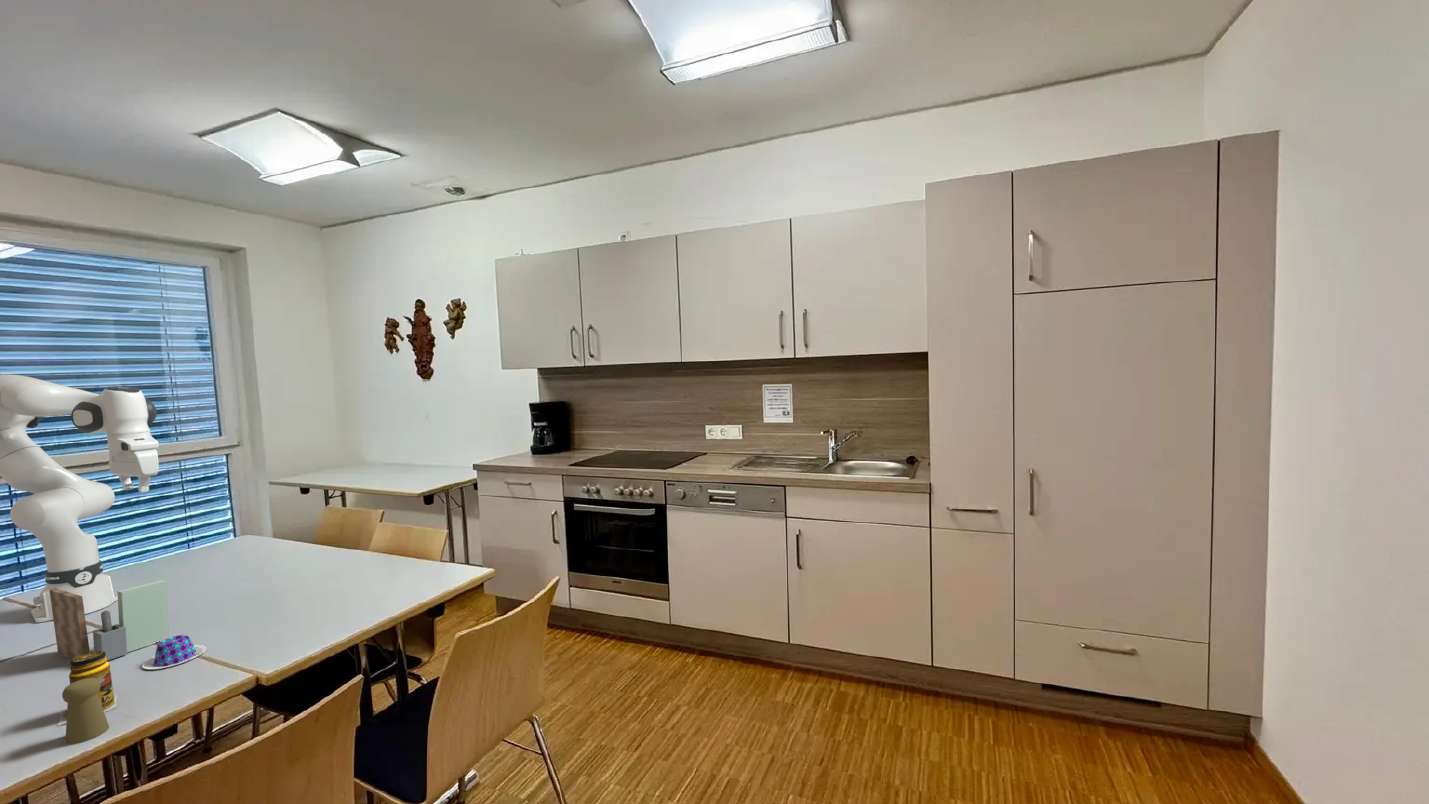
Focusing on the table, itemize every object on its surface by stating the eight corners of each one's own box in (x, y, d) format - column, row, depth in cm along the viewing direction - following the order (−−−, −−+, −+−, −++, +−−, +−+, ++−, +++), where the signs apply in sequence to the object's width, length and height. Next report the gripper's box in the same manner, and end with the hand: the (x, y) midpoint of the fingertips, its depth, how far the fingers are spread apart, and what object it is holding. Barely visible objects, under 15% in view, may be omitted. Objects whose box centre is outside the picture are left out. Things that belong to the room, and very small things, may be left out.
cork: (117, 725, 121) (111, 673, 120) (83, 744, 115) (76, 690, 114) (91, 724, 121) (84, 673, 120) (56, 744, 115) (48, 690, 114)
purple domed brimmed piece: (184, 646, 156) (181, 627, 156) (218, 649, 153) (216, 630, 153) (129, 669, 144) (127, 649, 144) (165, 674, 141) (162, 653, 141)
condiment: (116, 708, 127) (109, 655, 126) (57, 726, 121) (50, 671, 120) (117, 695, 132) (110, 644, 131) (61, 712, 126) (54, 659, 125)
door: (94, 658, 149) (90, 596, 149) (162, 636, 162) (159, 579, 161) (102, 662, 147) (99, 599, 147) (171, 639, 160) (168, 581, 159)
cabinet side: (58, 652, 155) (49, 590, 154) (85, 643, 160) (77, 582, 159) (91, 666, 146) (83, 600, 145) (120, 656, 151) (112, 592, 150)
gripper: (98, 444, 169) (104, 491, 170) (132, 445, 160) (138, 495, 162) (127, 440, 175) (133, 486, 176) (161, 442, 166) (167, 490, 167)
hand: (136, 490), depth 169 cm, fingers open, 8 cm apart
